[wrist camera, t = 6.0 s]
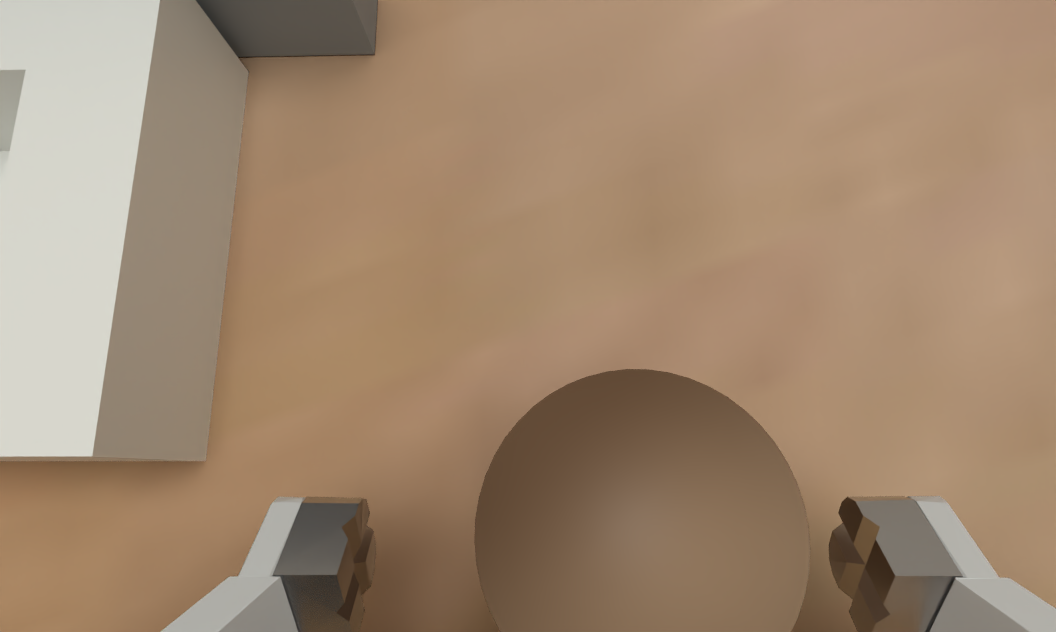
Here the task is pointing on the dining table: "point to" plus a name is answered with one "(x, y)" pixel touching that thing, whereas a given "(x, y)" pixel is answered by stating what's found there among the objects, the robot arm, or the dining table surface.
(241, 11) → the slate backstop wall
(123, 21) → the white socket block
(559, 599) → the walnut dowel
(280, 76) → the dining table surface
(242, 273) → the dining table surface
